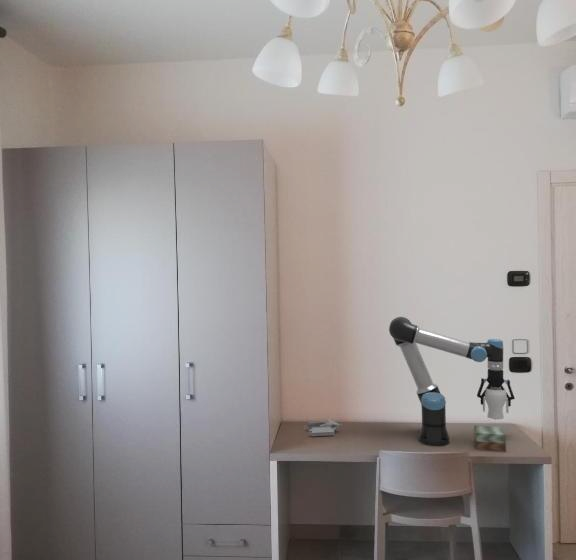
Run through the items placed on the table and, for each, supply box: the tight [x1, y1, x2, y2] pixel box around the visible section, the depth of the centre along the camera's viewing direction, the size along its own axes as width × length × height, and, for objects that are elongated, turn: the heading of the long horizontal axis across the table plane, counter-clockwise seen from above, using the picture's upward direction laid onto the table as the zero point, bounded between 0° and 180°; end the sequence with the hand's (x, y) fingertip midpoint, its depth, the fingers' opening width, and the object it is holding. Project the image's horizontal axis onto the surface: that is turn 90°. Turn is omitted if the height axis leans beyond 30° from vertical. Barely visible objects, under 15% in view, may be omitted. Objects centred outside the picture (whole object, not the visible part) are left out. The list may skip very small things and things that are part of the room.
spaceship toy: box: [303, 418, 342, 437], centre depth 274 cm, size 14×20×6 cm
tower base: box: [473, 424, 507, 453], centre depth 246 cm, size 13×13×8 cm
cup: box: [484, 386, 508, 420], centre depth 261 cm, size 11×11×15 cm
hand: (495, 411), depth 261 cm, fingers closed on cup, 11 cm apart
